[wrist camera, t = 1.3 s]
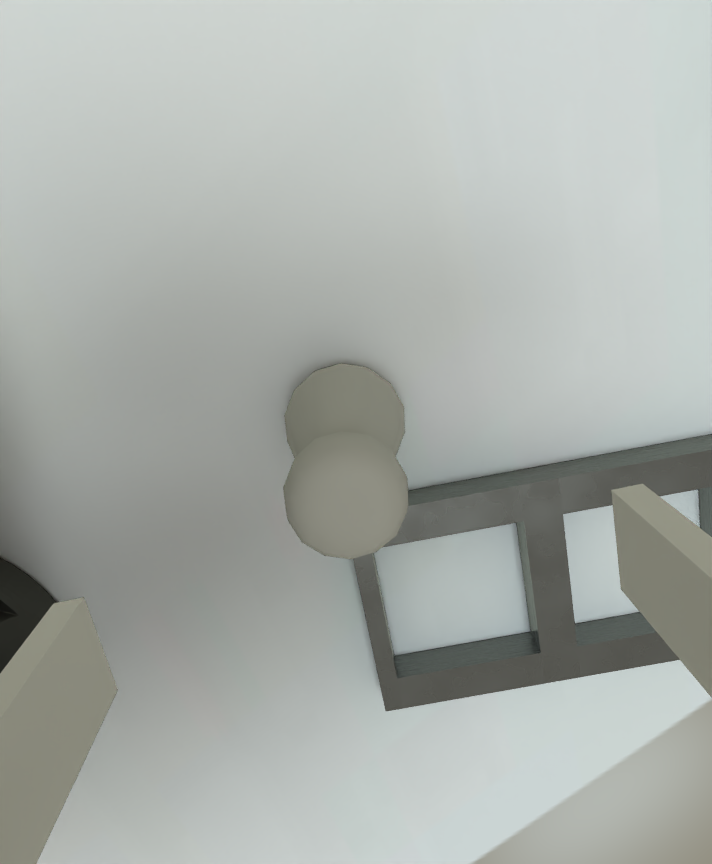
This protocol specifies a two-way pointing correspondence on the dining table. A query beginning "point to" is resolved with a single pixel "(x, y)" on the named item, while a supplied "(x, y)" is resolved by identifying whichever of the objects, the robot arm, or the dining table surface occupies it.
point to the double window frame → (532, 574)
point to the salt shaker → (345, 462)
